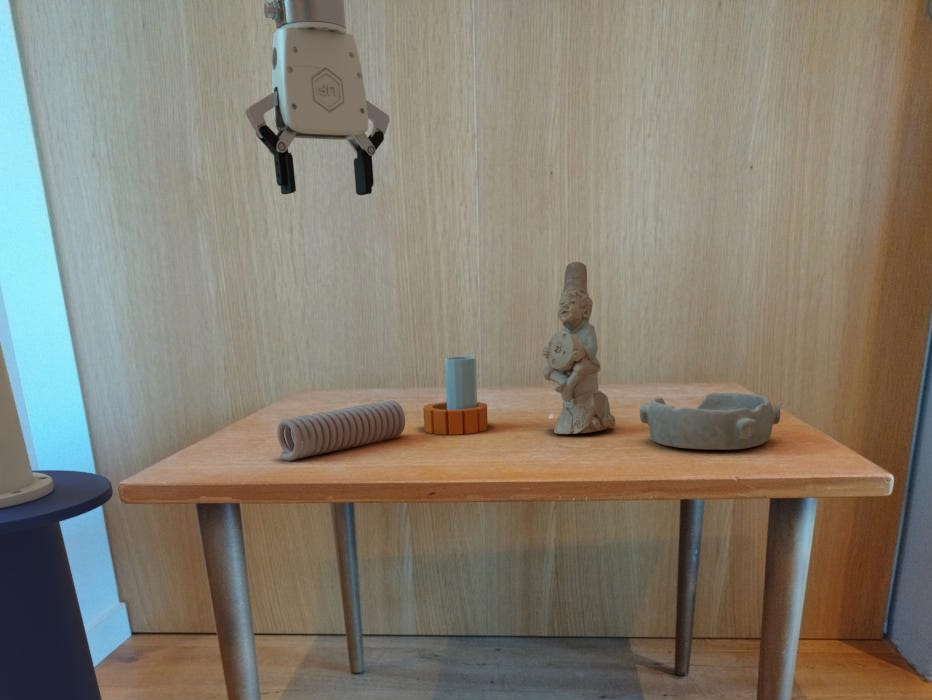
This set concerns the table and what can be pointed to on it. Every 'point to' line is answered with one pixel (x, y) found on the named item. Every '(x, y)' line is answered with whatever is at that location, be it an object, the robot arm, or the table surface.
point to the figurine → (577, 360)
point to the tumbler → (460, 382)
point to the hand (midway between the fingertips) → (327, 193)
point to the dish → (713, 422)
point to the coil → (340, 429)
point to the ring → (455, 419)
